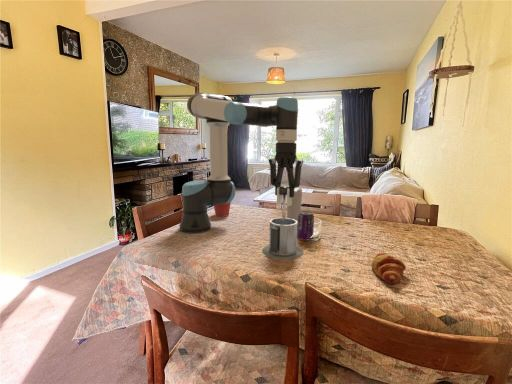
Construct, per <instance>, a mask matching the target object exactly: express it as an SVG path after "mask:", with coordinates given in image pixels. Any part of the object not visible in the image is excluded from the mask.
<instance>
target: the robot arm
mask: <svg viewBox="0 0 512 384" xmlns="http://www.w3.org/2000/svg"><path fill="white" fill-rule="evenodd" d="M186 108H187V111H188V113H189V114H190V115H191V116H192V117H194V118H197V119H203V120H206V125H207V126H208V127H209V154H210V155H209V161H210V172H209V173H210V175H209V176H208V178H207V181H206V180H202V179H200V180H198V179H197V180H192V181H191V180H190V181H188V182H185V183H184V184H183V185H182V186H181V187H182V189H181V198H182V215H181V221H180V223H179V232H182V233H187V234H199V233H205V232H208V231H210V230H211V229H212V223H211V221H210V218H209V215H208V207H211V206H213V207H214V205H220V204H222V205H223V204H226V203H230V202H231V203H232V201H234V198H235V196H236V186H235V183H234V182H233V181H231V180H232V179H231V177H230V175H228V127H229V126H230V125H231V124H232V125H235V126H239V125H242V126H258V127H264V128H267V127H275V126H276V127H275V131H276V132H275V140H276V141H277V142H276V143H275V155H274V157H273V158H269V159H268V164H269V173H270V174H269V176H270V185H271V186H274V189H275V190H274V195H275V196H276V205H278V206H279V205H283V195H280V186H282V180H283V174H284V170H285V171H286V174H287V182H288V187H289V188H288V189H287V195H286V207H287V206H291V205H292V197H294V191H295V189H296V188H300V184H301V174H302V167H303V164H304V160H300V159H298V158H297V157H298V156H297V143H296V142H298V141H297V140H298V139H297V138H298V137H297V136H298V135H297V134H298V133H297V132H298V117H299V104H298V99H297V98H295V97H292V96H281V97H278V98H277V100H276V103H275V105H262V104H254V103H245V102H239V101H233V100H232V98H230V97H229V96H227V95H226V96H225V95H222V94H213V93H205V92H195V93H193V94H192V95H191V96H189V98H188V99H187V102H186ZM294 165H295V166H294ZM294 167H295V169H294ZM285 168H286V169H285Z"/></svg>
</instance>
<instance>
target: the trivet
mask: <svg viewBox="0 0 512 384" xmlns="http://www.w3.org/2000/svg"><path fill="white" fill-rule="evenodd" d="M296 249H297V253H296V254H295V255H293V256H288V257H281V256H275V255H273V254H271V253H270V252H269V245H266V246H263V248H262V250H261V251H262V254H263V255H264V256H266V257H268V258H271V259H274V260H280V261H281V260H282V261H283V260H284V261H286V260H287V261H288V260H290V261H291V260H295V259H299V258H300V257H302V256H303V255H304V251H303V250H304V249H301V248H300V247H298V246H297V248H296Z"/></svg>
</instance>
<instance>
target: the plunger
mask: <svg viewBox="0 0 512 384" xmlns="http://www.w3.org/2000/svg"><path fill="white" fill-rule="evenodd" d="M288 188H289V185H287V186H286V185H284V186H283V185H281V186H280V195H282V217H281V218H282V225H285V218H286V205H287V189H288Z"/></svg>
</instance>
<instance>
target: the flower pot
mask: <svg viewBox="0 0 512 384" xmlns="http://www.w3.org/2000/svg"><path fill="white" fill-rule="evenodd" d="M231 203H232V201H231V202H230V203H226V204H223V205H222V204H220V205H213V210H214V213H215V214H214V215H215V217H220V216H221V217H222V216H223V217H227V216H229V215H230V211H231V210H230V209H231V205H232V204H231Z"/></svg>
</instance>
